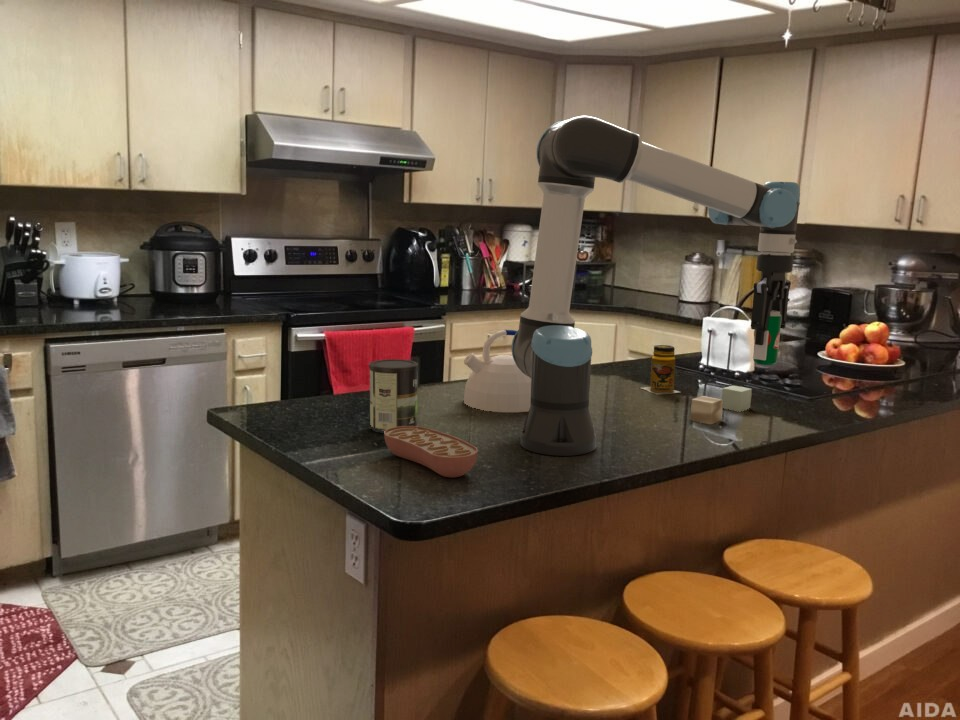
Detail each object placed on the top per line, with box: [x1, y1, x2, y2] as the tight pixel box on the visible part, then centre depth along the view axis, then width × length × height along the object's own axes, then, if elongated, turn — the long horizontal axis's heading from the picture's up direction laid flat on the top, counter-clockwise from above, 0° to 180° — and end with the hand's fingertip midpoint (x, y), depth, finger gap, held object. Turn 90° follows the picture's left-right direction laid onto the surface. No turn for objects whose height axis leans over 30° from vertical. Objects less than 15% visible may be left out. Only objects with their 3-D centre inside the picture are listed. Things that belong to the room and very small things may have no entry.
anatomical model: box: [383, 425, 479, 478], centre depth 154 cm, size 23×10×5 cm, turn 39°
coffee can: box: [368, 358, 419, 431], centre depth 178 cm, size 10×10×14 cm
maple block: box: [689, 395, 723, 425], centre depth 190 cm, size 5×5×5 cm
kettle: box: [463, 329, 531, 414], centre depth 202 cm, size 20×21×18 cm
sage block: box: [721, 385, 753, 413], centre depth 202 cm, size 5×5×5 cm
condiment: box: [641, 344, 680, 395], centre depth 220 cm, size 7×8×12 cm
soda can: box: [752, 310, 782, 366], centre depth 187 cm, size 5×5×12 cm
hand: (765, 357), depth 188 cm, fingers closed on soda can, 5 cm apart
